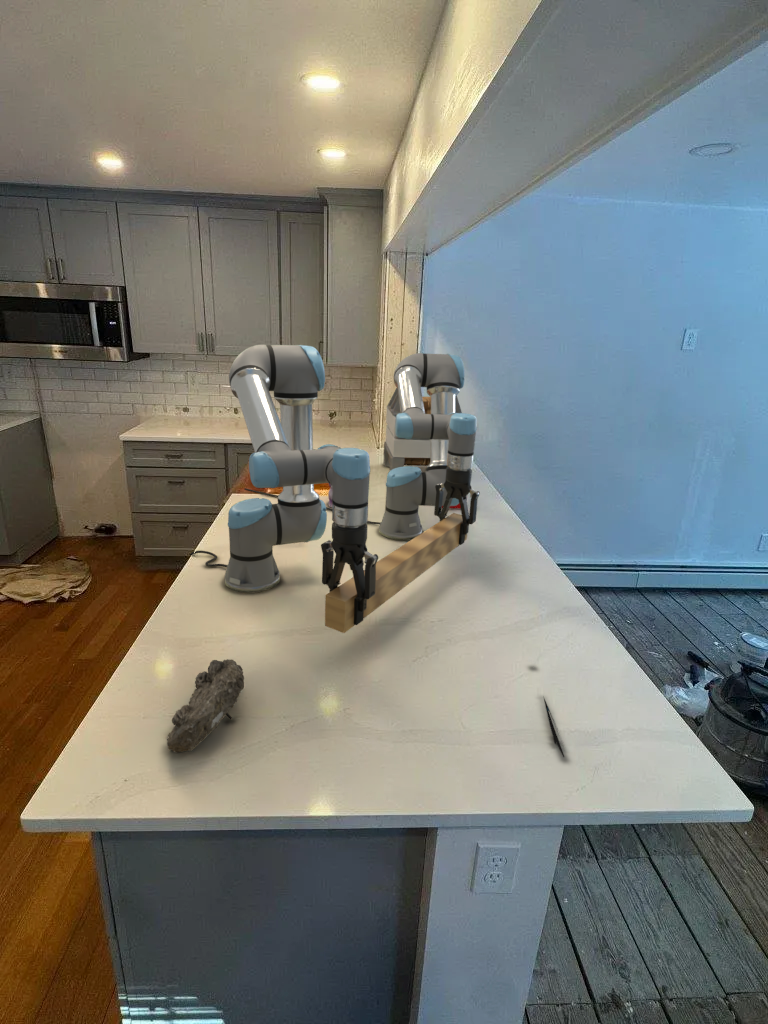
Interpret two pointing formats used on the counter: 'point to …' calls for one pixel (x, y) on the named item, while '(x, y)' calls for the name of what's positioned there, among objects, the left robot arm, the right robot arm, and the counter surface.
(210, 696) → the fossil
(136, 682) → the counter surface
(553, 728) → the feather
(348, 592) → the post
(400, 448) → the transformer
